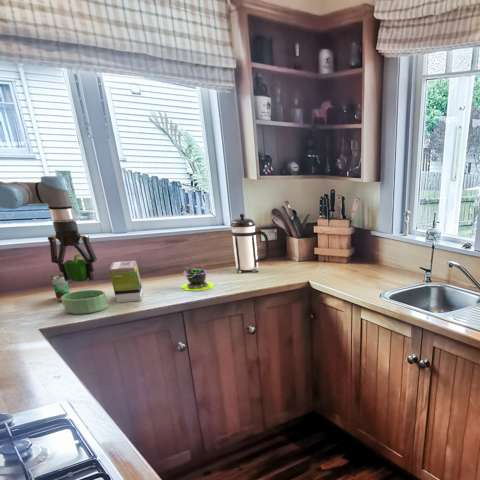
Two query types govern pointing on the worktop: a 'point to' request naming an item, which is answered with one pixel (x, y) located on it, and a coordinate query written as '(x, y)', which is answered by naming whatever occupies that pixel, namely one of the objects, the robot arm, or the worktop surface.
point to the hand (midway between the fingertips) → (79, 280)
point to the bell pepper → (76, 269)
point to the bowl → (84, 301)
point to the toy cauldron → (196, 280)
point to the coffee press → (246, 244)
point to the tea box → (126, 281)
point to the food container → (59, 285)
